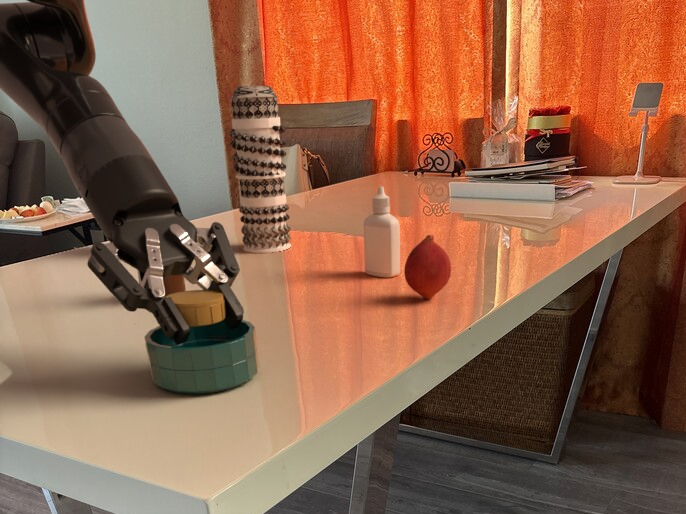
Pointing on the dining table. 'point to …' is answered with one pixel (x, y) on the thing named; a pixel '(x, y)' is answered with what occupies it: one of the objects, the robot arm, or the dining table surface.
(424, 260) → the onion
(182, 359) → the bowl
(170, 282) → the jar
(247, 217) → the decorative candle
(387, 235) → the eye dropper bottle
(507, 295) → the dining table surface
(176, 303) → the lid
